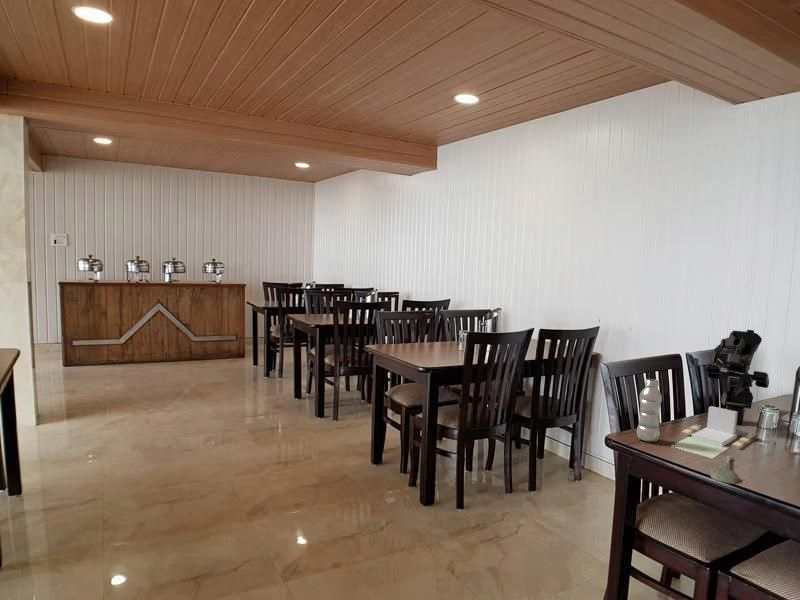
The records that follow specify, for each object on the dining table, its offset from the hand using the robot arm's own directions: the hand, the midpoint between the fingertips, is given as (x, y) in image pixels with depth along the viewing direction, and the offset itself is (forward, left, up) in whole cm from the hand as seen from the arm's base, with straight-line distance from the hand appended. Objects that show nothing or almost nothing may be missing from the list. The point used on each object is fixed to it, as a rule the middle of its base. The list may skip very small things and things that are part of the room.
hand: (729, 393), depth 179 cm
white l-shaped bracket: (+13, 0, -13) cm, 19 cm away
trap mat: (-1, 0, -14) cm, 14 cm away
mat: (+27, 0, -14) cm, 30 cm away
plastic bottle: (+35, -13, -14) cm, 40 cm away
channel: (+12, 0, -14) cm, 18 cm away
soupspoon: (+41, +11, -14) cm, 45 cm away
